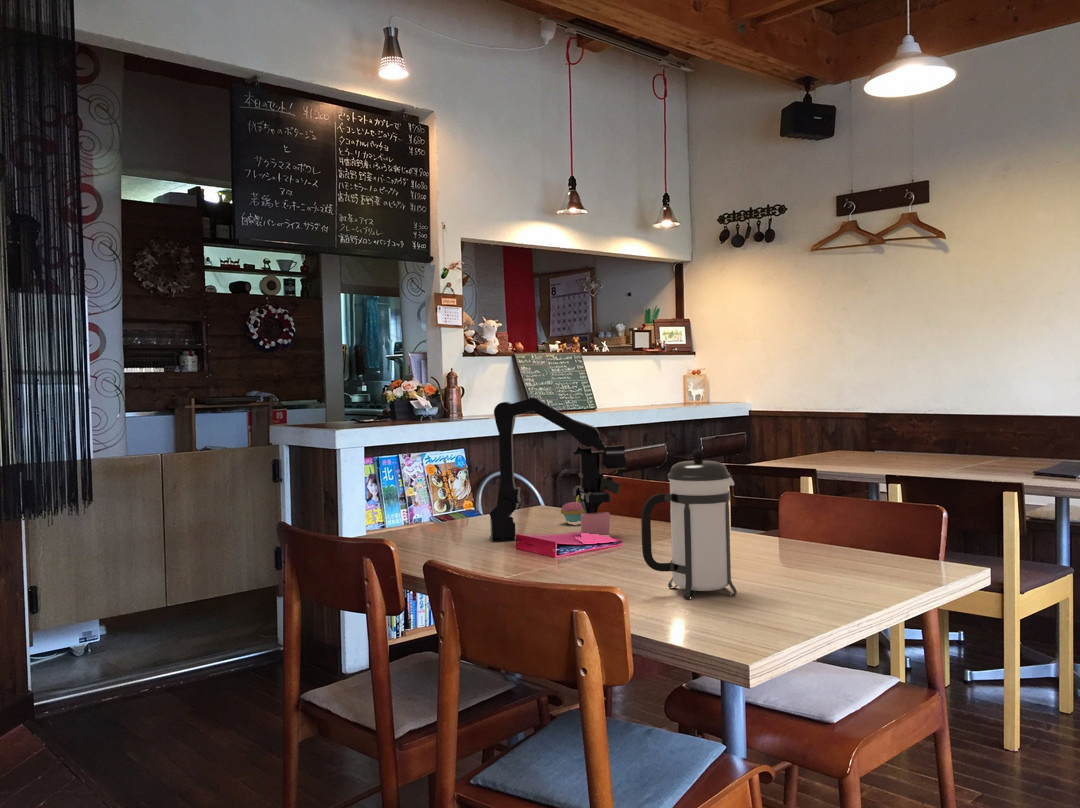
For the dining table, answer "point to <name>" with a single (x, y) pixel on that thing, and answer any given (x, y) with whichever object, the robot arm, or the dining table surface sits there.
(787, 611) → the dining table surface
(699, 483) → the coffee press
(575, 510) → the cupcake
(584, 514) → the pink rectangular block
